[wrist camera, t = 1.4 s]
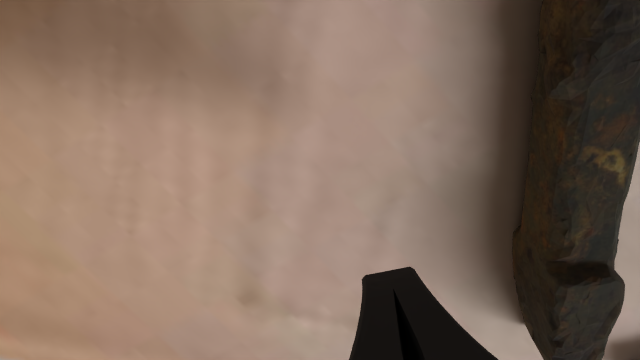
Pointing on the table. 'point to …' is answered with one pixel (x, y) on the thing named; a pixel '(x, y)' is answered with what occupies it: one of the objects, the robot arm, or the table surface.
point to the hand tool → (578, 175)
